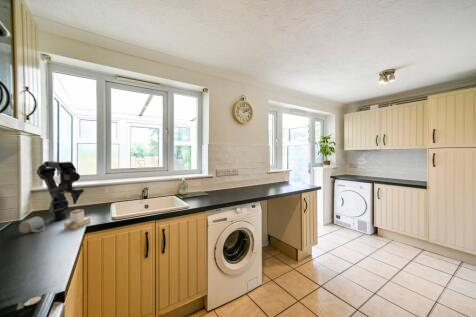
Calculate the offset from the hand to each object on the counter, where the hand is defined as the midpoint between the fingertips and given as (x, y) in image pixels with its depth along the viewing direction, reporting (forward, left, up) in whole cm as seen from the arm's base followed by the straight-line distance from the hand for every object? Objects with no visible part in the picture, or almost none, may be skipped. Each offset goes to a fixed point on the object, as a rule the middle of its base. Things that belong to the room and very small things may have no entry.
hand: (68, 204), depth 129 cm
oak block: (+12, -6, -12) cm, 18 cm away
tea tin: (+12, -6, -8) cm, 16 cm away
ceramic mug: (-8, -14, -12) cm, 20 cm away
